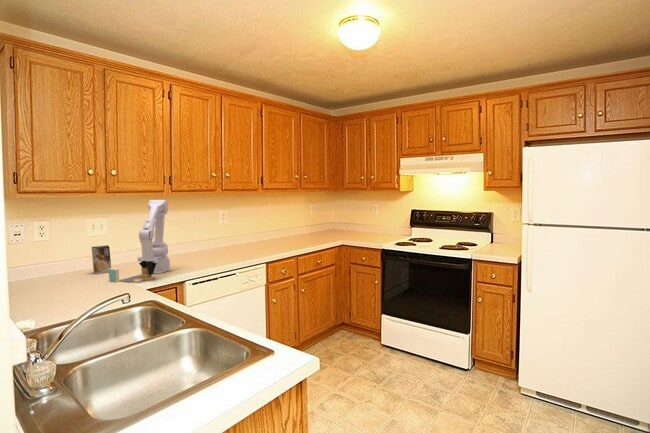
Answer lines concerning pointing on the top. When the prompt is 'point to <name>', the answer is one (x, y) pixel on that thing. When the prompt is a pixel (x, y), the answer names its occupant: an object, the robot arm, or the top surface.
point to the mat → (131, 279)
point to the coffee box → (101, 259)
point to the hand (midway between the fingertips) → (148, 274)
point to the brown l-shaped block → (144, 276)
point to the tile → (114, 275)
